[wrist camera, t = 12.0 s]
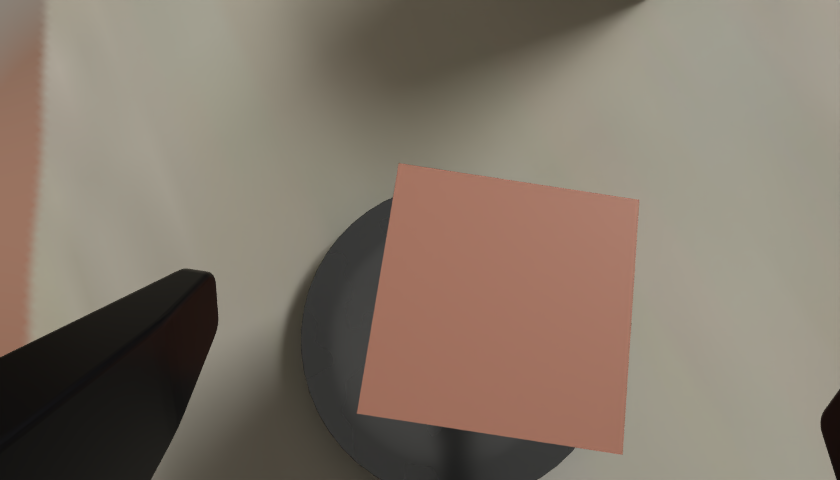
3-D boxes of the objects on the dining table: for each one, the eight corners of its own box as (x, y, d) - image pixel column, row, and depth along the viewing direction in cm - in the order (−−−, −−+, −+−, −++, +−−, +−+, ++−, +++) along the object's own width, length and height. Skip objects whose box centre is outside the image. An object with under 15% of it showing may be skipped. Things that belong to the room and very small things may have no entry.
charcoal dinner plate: (590, 516, 18) (600, 524, 17) (278, 468, 18) (271, 473, 17) (612, 215, 20) (623, 208, 20) (335, 173, 21) (332, 164, 20)
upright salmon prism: (520, 416, 18) (622, 454, 10) (377, 394, 18) (356, 413, 10) (535, 275, 19) (639, 200, 11) (400, 254, 19) (398, 163, 11)
